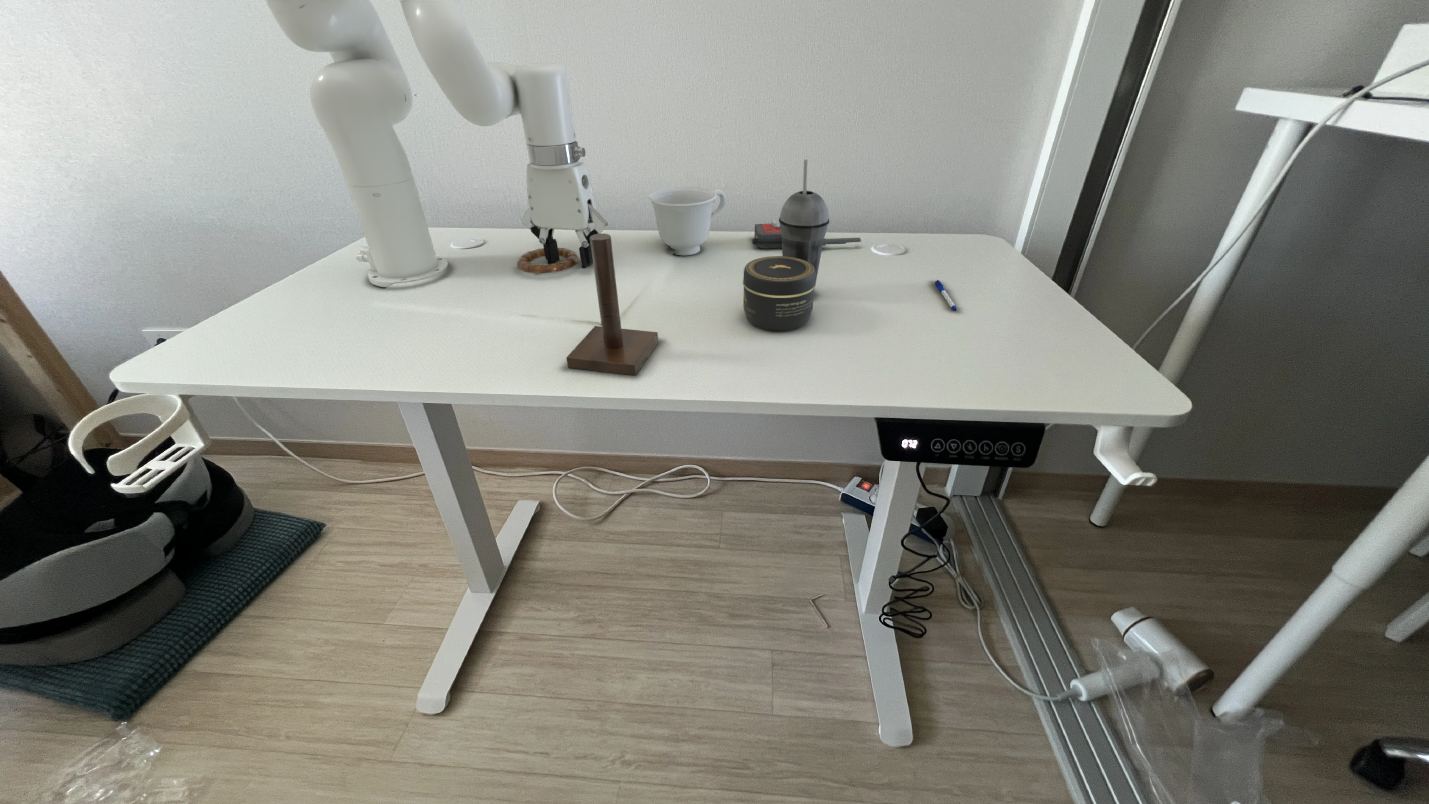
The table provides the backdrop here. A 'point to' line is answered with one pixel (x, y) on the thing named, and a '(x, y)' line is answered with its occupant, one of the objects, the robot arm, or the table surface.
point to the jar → (778, 292)
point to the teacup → (685, 216)
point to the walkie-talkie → (773, 239)
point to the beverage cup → (804, 225)
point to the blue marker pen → (945, 294)
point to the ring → (547, 268)
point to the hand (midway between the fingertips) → (570, 264)
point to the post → (610, 324)
